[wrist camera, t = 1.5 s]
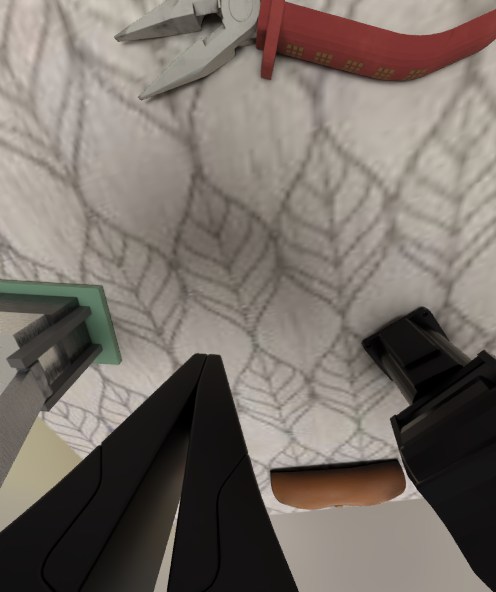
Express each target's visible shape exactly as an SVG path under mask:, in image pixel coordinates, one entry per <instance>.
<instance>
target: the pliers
mask: <svg viewBox="0 0 496 592" xmlns="http://www.w3.org/2000/svg"><path fill="white" fill-rule="evenodd" d="M210 13H216V14H218V15H219V16H220V18H221V20H222V23H223V24H222V25H221V26H220V27H219V28H217V29H216V30H215V31H214V32H213V33H211V34H210V35H209V36H208V37H206V38H205V39H204V40H202V38H200V39H199V40H198V41H197V42H195V43H194V44H193V45H192V46H191V47H190V48H188V49H187V50H186V51H185V52H184V53H183V54H181V55H180V56H179V57H178V58H177V59H176V60H175V61H174V62H173V63H172V64H171V65H170V66H169V67H168V68H167V69H166V70H165V71H164V72H163V73H162V74H161V75H160V76H159V77H158V78H157V79H156V80H155V81H154V82H153V83H152V84H151V85H150V86H149V87H148V88H147V89H146V90H145V91H144V92H143V93H142V94H140V95H139V96H138V98H139V99H140V100H144V99H147V98H149V97H152V96H155V95H157V94H160V93H162V92H165V91H168V90H170V89H173V88H176V87H178V86H181V85H184V84H186V83H189V82H191V81H194V80H197V79H199V78H202V77H205V76H207V75H209V74H210V73H212V72H213V71H215V70H216V69H218V68H219V67H221V66H222V65H224V64H225V63H227V62H228V61H229V60H231V59H232V58H233V57H234V56H235V48H236V47H237V46H247V45H252V44H256V48H257V49H261V50H264V52H263V59H262V67H261V77H263V78H267V79H271V77H272V71H273V66H274V61H275V55H276V53H280V54H284V55H288V56H291V57H295V58H299V59H303V60H307V61H310V62H314V63H318V64H322V65H326V66H329V67H333V68H337V69H341V70H344V71H348V72H352V73H356V74H360V75H363V76H367V77H371V78H376V79H382V80H409V79H415V78H420V77H423V76H425V75H427V74H430V73H432V72H434V71H436V70H439V69H441V68H443V67H445V66H447V65H450V64H452V63H454V62H456V61H459V60H461V59H463V58H465V57H468V56H470V55H472V54H475V53H477V52H479V51H480V50H482V49H484V48H485V47H487V46H488V45H489V44H490V43H491V42H493V41H494V40H495V39H496V9H495V10H493V11H491V12H489V13H486V14H484V15H482V16H480V17H478V18H475V19H473V20H471V21H469V22H467V23H465V24H462V25H460V26H458V27H456V28H454V29H451V30H448V31H445V32H442V33H437V34H432V35H421V36H419V35H406V34H400V33H396V32H392V31H388V30H385V29H381V28H378V27H374V26H371V25H367V24H363V23H360V22H356V21H353V20H349V19H346V18H342V17H338V16H335V15H331V14H328V13H324V12H320V11H317V10H313V9H310V8H306V7H303V6H299V5H295V4H292V3H288V2H285V0H166V1H165V2H163V3H162V4H161V5H159V6H158V7H156V8H155V9H153V10H152V11H150V12H149V13H147V14H146V15H144V16H143V17H142V18H140V19H139V20H137V21H136V22H134V23H133V24H131V25H130V26H128V27H127V28H125V29H124V30H123V31H121V32H120V33H118V34H117V35H115V36H114V38H115V39H116V40H117V41H118V42H120V41H129V40H137V39H146V38H155V37H163V36H172V35H180V34H185V33H191V32H196V31H201V23H202V20H203V18H204V16H205V15H206V14H210Z"/></svg>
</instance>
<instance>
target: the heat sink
mask: <svg viewBox="0 0 496 592" xmlns="http://www.w3.org/2000/svg"><path fill="white" fill-rule="evenodd" d="M79 306H80V304H79V301H78V298H77V297H65V296H49V295H33V294H16V293H0V395H1V394H2V393H3V391H4V390H5V388H6V387H7V386H8V384H9V383H10V382H11V380H12V379H13V377H14V376H15V375H16V373H17V372H18V371H17V370H16V368H11V367H10V365H9V363H8V361H7V360H6V358H7V357H9V356H10V355H12V354H13V353H14V352H16V351H17V350H18V349H20V348H21V347H23V346H24V345H25V344H27V343H28V342H30V341H31V340H32V339H34V338H35V337H36V336H38V335H39V334H41V333H42V332H43V331H45V330H46V329H48V328H49V327H50V326H52V325H53V324H56V323H57V322H58V321H60V320H61V319H63V318H64V317H65V316H67V315H68V314H69V313H71V312H72V311H74V310H75V309H76V308H78V307H79ZM91 344H92V341H91V338H90V335H89V332H88V329H87V326H86V323H85V320H84V321H83V322H81V323H80V324H79V325H78V326H77V327H75V328H74V329H73V330H72V331H71V332H69V333H68V334H67V335H66V336H65V337H63V338H62V339H61V340H60V341H58V342H57V343H56V344H55V345H54V346H52V347H51V348H50V349H49V350H48V351H46V352H45V353H44V354H43V355H42V356H40V357H39V358H38V360H39V362H40V364H41V366H42V368H43V370H44V372H45V374H46V376H47V378H48V380H49V383H50V384H51V383H52V382H53V381H54V380H55V379H56V378H57V377H58V376H59V375H60V374H61V373H62V372H63V371H64V370H65V369H66V368H67V367H68V366H69V365H72V364H73V363H74V362H75V361H76V359H77V358H78V357H79V356H80V355H81V354H82V353H83V352H84V351H85V350H86V349H87V348H88V347H89V346H90V345H91Z"/></svg>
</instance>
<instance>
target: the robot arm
mask: <svg viewBox="0 0 496 592" xmlns="http://www.w3.org/2000/svg"><path fill="white" fill-rule="evenodd" d="M424 312H425V313H424ZM423 313H424V314H423ZM367 344H369V345H367ZM366 345H367V346H366ZM362 346H363V348H364V349H365V350H366V352H367V353H368V354H369V355H370V356H371V358H372V359H373V360H374V361H375V362H376V363H377V365H378V366H379V367H380V368H381V369H382V370H383V372H384V373H385V374H386V375H387V376H388V377H389V379H390V380H391V381H394V382H395V384H396V385H397V387H398V388H399V390H400V391H401V393H402V394H403V396H404V397H405V399H406V400H407V402H408V403H409V405H410V406H409V407H407V408H406V409H404V410H403V411H402V412H400V413H399V414H398V415H394V416H393V417H391V418H390V421H391V425H392V428H393V431H394V435H395V438H396V441H397V445H398V448H399V451H400V455H401V458H402V461H403V464H404V467H405V470H406V473H407V475H408V477H409V479H410V480H411V481H412V482H413V484H414V485H415V487H416V488H417V490H418V491H419V492H420V494H421V495H422V496H423V497H424V498H425V499H426V500H427V502H428V503H429V504H430V505H431V506H432V508H433V509H434V511H435V512H436V513H437V515H438V516H439V518H440V519H441V520H442V522H443V523H444V524H445V526H446V527H447V529H448V531H449V532H450V533H451V535H452V537H453V538H454V540H455V542H456V543H457V545H458V547H459V548H460V550H461V552H462V553H463V555H464V557H465V558H466V560H467V562H468V563H469V565H470V567H471V568H472V570H473V571H474V573H475V574H476V575H477V576H478V577H479V578H480V579H481V580H482V581H483V582H484V583H485V584H486V585H487V586H488V587H489V588H490V589H491V590H492V591H493V592H496V357H495V356H494V355H492V354H490V353H489V352H487V351H485V350H483V351H481V352H480V353H479V354H477V355H478V356H477V357H476V358H475V359H473V360H471V359H470V358H468V357H467V356H466V355H465V354H464V353H462V352H461V351H460V350H459V349H458V348H457V347H455V346H454V345H453V344H452V343H451V342H450V341H449V339H448V338H447V336H446V335H445V333H444V332H443V330H442V329H441V327H440V325H439V324H438V322H437V321H436V319H435V318H434V316H433V314H432V313H431V311H429V310H428V309H427V308H420V309H418V310H417V311H415V312H413V313H411V314H410V315H408V316H406V317H404V318H403V319H401V320H399V321H397V322H396V323H394V324H392V325H390V326H389V327H387V328H385V329H383V330H382V331H380V332H378V333H376V334H375V335H373V336H371V337H370V338H368V339H366V340H364V341H363V342H362ZM180 497H181V499H180ZM179 500H180V505H179V512H178V519H177V526H176V532H175V539H174V546H173V553H172V559H171V566H170V573H169V580H168V586H167V592H299V591H298V588H297V586H296V583H295V581H294V579H293V576H292V574H291V571H290V569H289V566H288V564H287V561H286V559H285V556H284V554H283V551H282V549H281V546H280V544H279V541H278V539H277V537H276V534H275V532H274V529H273V526H272V524H271V521H270V518H269V516H268V513H267V510H266V508H265V505H264V502H263V499H262V497H261V493H260V490H259V487H258V484H257V481H256V477H255V474H254V471H253V468H252V464H251V460H250V457H249V455H248V450H247V447H246V443H245V440H244V436H243V433H242V429H241V425H240V422H239V418H238V415H237V411H236V408H235V404H234V400H233V397H232V393H231V390H230V386H229V383H228V379H227V376H226V372H225V368H224V365H223V361H222V358H221V356H220V355H216V354H209V355H207V354H200V353H196V354H194V355H193V356H192V357H191V358H190V359H189V360H187V361H186V362H185V363H184V364H183V365H182V366H181V367H180V368H179V369H178V370H177V371H176V372H175V373H174V374H173V375H172V376H171V377H170V378H169V379H168V380H167V381H165V382H164V383H163V384H162V385H161V386H160V387H159V388H158V389H157V390H156V391H155V392H154V393H153V394H152V395H151V396H150V397H149V398H148V399H147V400H146V401H145V402H143V403H142V404H141V405H140V406H139V407H138V408H137V409H136V410H135V411H134V412H133V413H132V414H131V415H130V416H129V417H128V418H127V419H126V420H125V421H124V422H123V423H122V424H120V425H119V426H118V427H117V428H116V429H115V430H114V431H113V432H112V433H111V434H110V435H109V436H108V437H107V438H106V439H105V440H104V441H103V442H102V443H101V445H99V446H97V447H96V448H95V449H94V450H93V451H92V452H91V453H90V454H89V455H88V456H87V457H86V458H85V459H84V460H83V461H81V462H80V463H79V464H78V465H77V466H76V467H75V468H74V469H73V470H72V471H71V472H70V473H69V474H67V475H66V476H65V477H64V478H63V479H62V480H61V481H60V482H59V483H58V484H56V485H55V486H54V487H53V488H52V489H51V490H50V491H48V492H47V493H46V494H45V495H44V496H43V497H41V498H40V499H39V500H38V501H37V502H36V503H34V504H33V505H32V506H31V507H30V508H29V509H27V510H26V511H25V512H24V513H23V514H22V515H20V516H19V517H18V518H17V519H16V520H14V521H13V522H12V523H11V524H10V525H8V526H7V527H6V528H5V529H4V530H2V531H1V532H0V592H153V591H154V588H155V584H156V581H157V577H158V574H159V570H160V567H161V563H162V560H163V556H164V553H165V549H166V546H167V542H168V539H169V535H170V532H171V528H172V525H173V521H174V518H175V514H176V511H177V507H178V504H179Z"/></svg>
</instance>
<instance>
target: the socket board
mask: <svg viewBox="0 0 496 592" xmlns="http://www.w3.org/2000/svg"><path fill="white" fill-rule="evenodd" d="M0 293H16V294H33V295H49V296H65V297H77V298H78V301H79V304H80V306H79V307H78V308H76V309H75V310H74V311H72V312H71V313H69V314H68V315H67V316H65V317H64V318H63V319H61V320H60V321H58V322H57V323H56V324H53V325H52V326H50V327H49V328H48V329H46V330H45V331H43V332H42V333H41V334H39V335H38V336H36V337H35V338H34V339H32V340H31V341H30V342H28V343H27V344H25V345H24V346H23V347H21V348H20V349H18V350H17V351H16V352H14V353H13V354H12V355H10V356H9V357H7V358H6V360H7V361H8V363H9V365H10V367H11V368H24V369H26V368H27V367H28V366H30V365H31V364H32V363H33V362H34V361H36V360H37V359H38V358H39V357H40V356H42V355H43V354H44V353H45V352H46V351H48V350H49V349H50V348H51V347H52V346H54V345H55V344H56V343H57V342H58V341H60V340H61V339H62V338H63V337H65V336H66V335H67V334H68V333H69V332H71V331H72V330H73V329H74V328H75V327H77V326H78V325H79V324H80V323H81V322H83V321H84V320H85V323H86V326H87V329H88V332H89V335H90V338H91V341H92V344H91V345H90V346H89V347H88V348H87V349H86V350H85V351H84V352H83V353H82V354H81V355H80V356H79V357H78V358H77V359H76V361H75V362H74V363H73V364H72V365H69V366H68V367H67V368H66V369H65V370H64V371H63V372H62V373H61V374H60V375H59V376H58V377H57V378H56V379H55V380H54V381H53V382H52V383H51V384H50V385H51V387H52V389H53V393H52V395H51V396H50V397H48V398H47V399H46V400H45V402H44V404H43V406H42V408H41V410H40V411H47V412H49V410H50V409H51V408H52V407H53V406H54V405H55V404H56V403H57V401H58V400H59V399H60V398H61V397H62V396H63V395H64V394H65V392H66V391H67V390H68V389H69V388H70V387H71V386H72V385H73V383H74V382H75V381H76V380H77V379H78V378H79V377H80V376H81V374H82V373H83V372H84V371H85V370H86V369H87V368H88V367H89V365H90V364H91V363H99V364H115V365H119V364H120V363H121V361H122V359H121V356H120V352H119V348H118V344H117V340H116V337H115V333H114V329H113V325H112V322H111V318H110V314H109V310H108V306H107V303H106V299H105V295H104V291H103V287H102V286H96V285H79V284H63V283H46V282H30V281H13V280H0Z"/></svg>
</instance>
